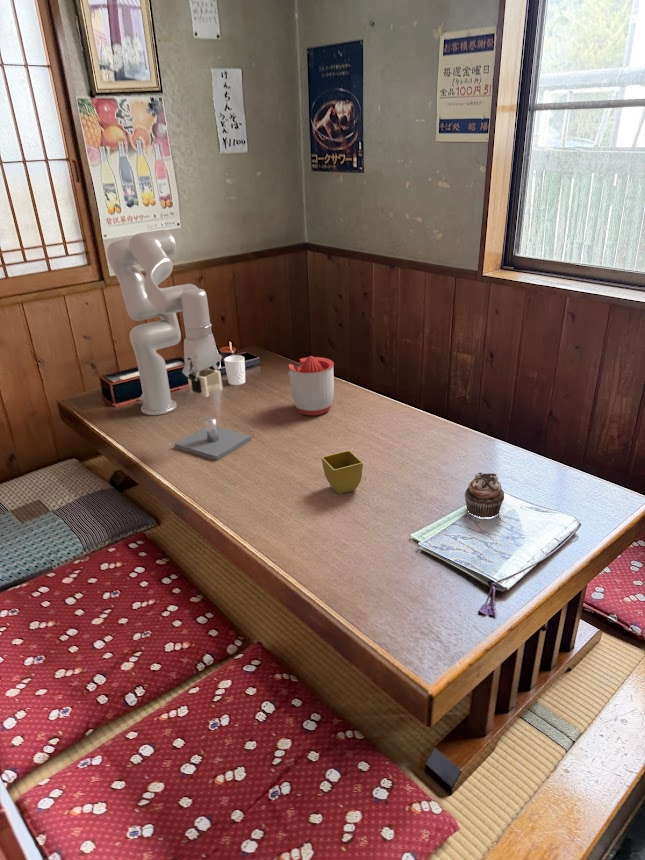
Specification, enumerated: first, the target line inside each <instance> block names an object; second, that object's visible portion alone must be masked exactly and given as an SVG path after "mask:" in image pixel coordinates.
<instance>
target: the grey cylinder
mask: <svg viewBox="0 0 645 860" xmlns="http://www.w3.org/2000/svg"><path fill="white" fill-rule="evenodd" d="M217 427H218V426H217V419H216V418H215V417H207V418H205V419H204V428H206V435H207V441H208V442H216V441H218V440H219V438H218V431H217Z"/></svg>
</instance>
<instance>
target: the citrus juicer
mask: <svg viewBox="0 0 645 860" xmlns="http://www.w3.org/2000/svg"><path fill="white" fill-rule="evenodd" d="M334 364H335V363H334V361H333V360H331V359H329V358H326V357H322V356H321V357H320V356H316V357H315V356H312V355H309V356H308V357H302V358H299V366H298V367H295V365H294V364H291V363H289V364H288V368H289V371H288V372H287V376H289V378H290V390H291V391H290V392H291V396H292V397H291V398H292V400H293V403H294V406H295V409H296V410H297V412H298V413H299V414H302V415H306V416H319V415H323V414H326V413H328V412H330V410H331V408H332V404H333V399H334V396H335V395H334V394H335V377H334V375H335V374H334Z"/></svg>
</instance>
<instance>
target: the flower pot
mask: <svg viewBox="0 0 645 860" xmlns="http://www.w3.org/2000/svg"><path fill="white" fill-rule="evenodd" d="M321 463H322V469H323V472H324V476H325V478H326V480H327V482H328V484H329V485H330V487H331V488H332V489H333V490H334V491H335V492H336V493H337V494H338V495H342V494H345V493H348V492H352V491H353V492H354V491H355V490H356V489H357V488H358V487H359V485H360V483H361V481H362V476H363V466H364V462H363V461H362V459H360V458H359V457H357V456H356V454H354V453H353V452H352V451H351V450H344V451H341V452H336V453H331V454H328V455H324V456H321Z"/></svg>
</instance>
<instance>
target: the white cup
mask: <svg viewBox="0 0 645 860" xmlns="http://www.w3.org/2000/svg"><path fill="white" fill-rule="evenodd" d="M223 360H224V365H225V367H224V368H225V371H226V376H227V383H228V384H229V385H231V386H241V385H244V384H245V383H246V364H245V363H246V362H245V361H246V360H245V356H243V355H240V354H239V355H238V354H237V355H229V356H226V357H225V358H224V359H223Z"/></svg>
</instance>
